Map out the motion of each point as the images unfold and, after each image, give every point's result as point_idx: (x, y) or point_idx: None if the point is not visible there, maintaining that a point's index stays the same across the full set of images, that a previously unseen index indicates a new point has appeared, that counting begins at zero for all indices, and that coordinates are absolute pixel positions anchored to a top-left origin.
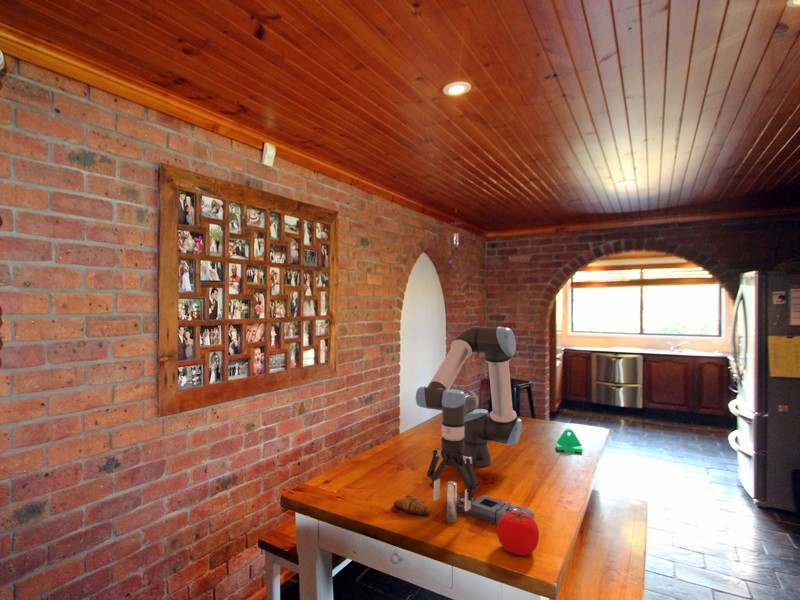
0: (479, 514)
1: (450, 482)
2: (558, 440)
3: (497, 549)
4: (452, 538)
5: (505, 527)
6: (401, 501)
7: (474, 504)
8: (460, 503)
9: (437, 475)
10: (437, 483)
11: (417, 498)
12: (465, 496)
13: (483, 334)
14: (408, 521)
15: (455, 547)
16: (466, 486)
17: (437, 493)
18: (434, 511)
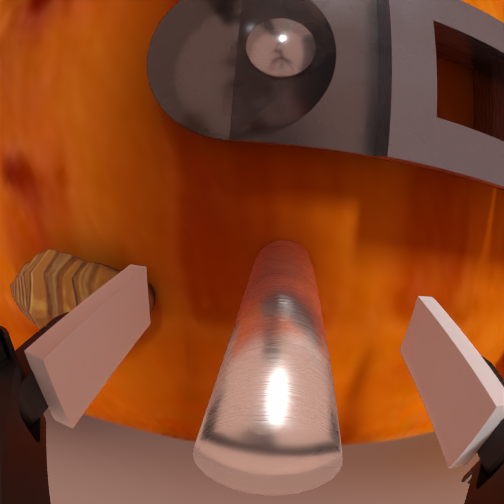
0: (432, 168)
1: (234, 460)
2: None
3: (498, 363)
4: (349, 401)
5: None
6: (31, 320)
7: (417, 151)
8: (268, 99)
9: (37, 453)
10: (78, 379)
11: (48, 276)
12: (438, 425)
13: None
14: (130, 370)
15: (372, 430)
16: (473, 492)
17: (126, 321)
18: (153, 229)
